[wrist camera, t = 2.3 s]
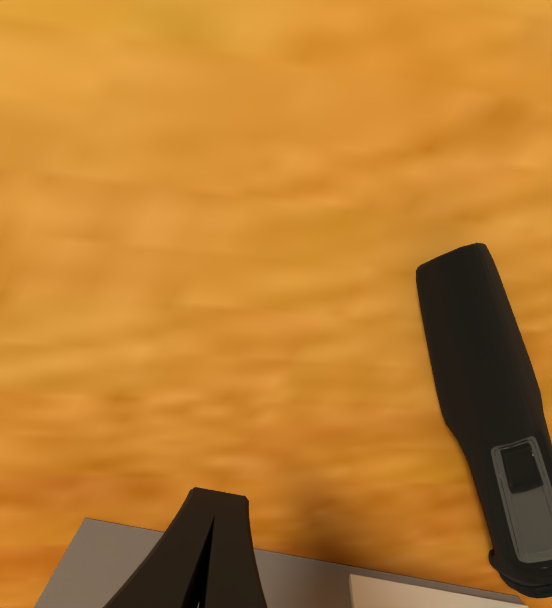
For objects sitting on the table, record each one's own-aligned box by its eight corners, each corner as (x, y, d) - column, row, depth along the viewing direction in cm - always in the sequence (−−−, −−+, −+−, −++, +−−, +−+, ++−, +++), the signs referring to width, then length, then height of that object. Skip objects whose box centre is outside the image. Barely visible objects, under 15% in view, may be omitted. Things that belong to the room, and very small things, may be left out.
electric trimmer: (489, 212, 16) (530, 225, 13) (573, 544, 21) (619, 611, 18) (384, 249, 17) (402, 270, 14) (487, 564, 21) (518, 632, 18)
